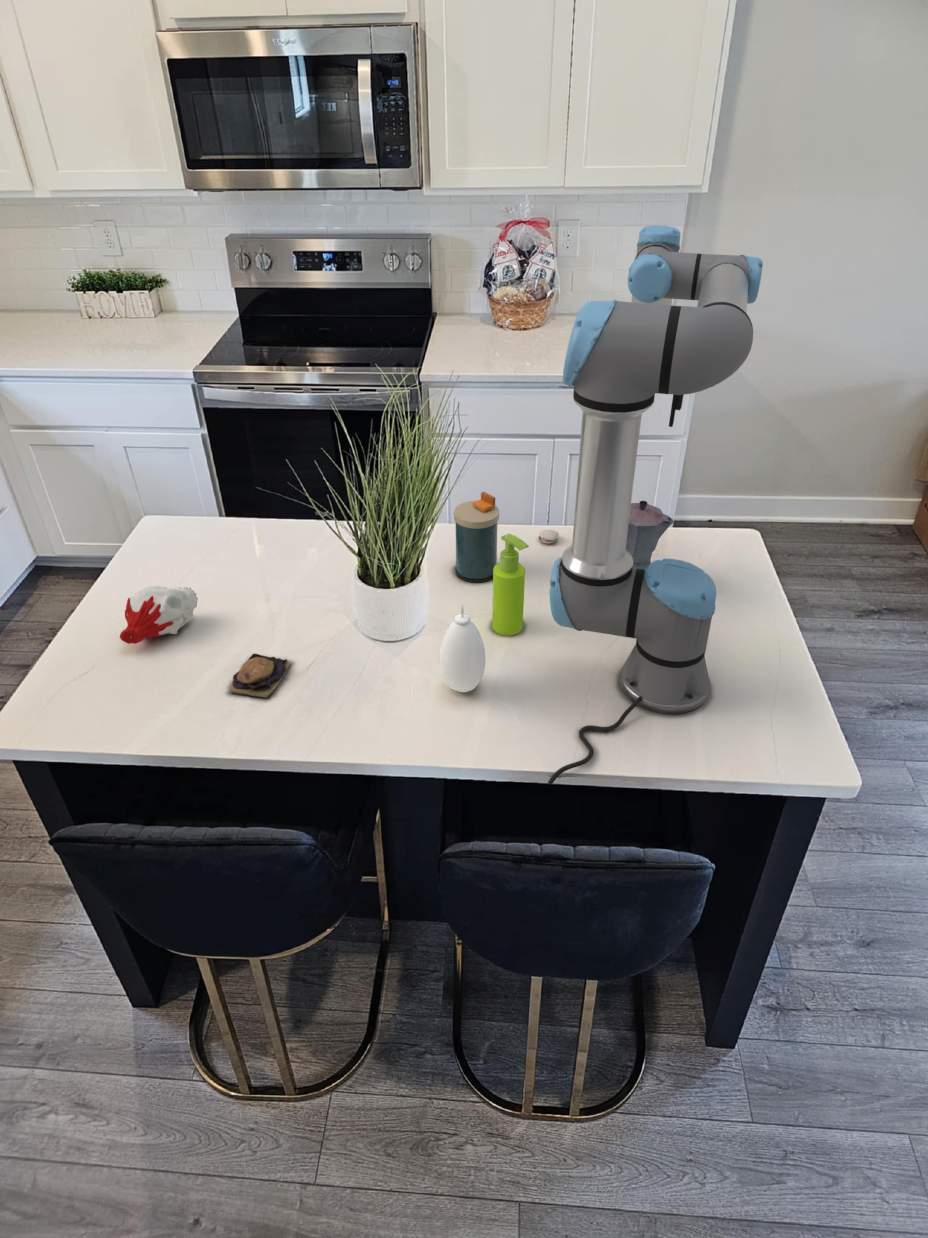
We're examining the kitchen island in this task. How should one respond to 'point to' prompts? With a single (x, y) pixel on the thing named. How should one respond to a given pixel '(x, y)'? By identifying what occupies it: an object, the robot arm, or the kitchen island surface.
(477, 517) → the travel mug
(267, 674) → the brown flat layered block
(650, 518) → the moka pot
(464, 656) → the sauce bottle
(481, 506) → the orange l-shaped block
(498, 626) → the soap dispenser
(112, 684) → the kitchen island surface
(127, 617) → the white decorated figurine
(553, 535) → the macaroon
